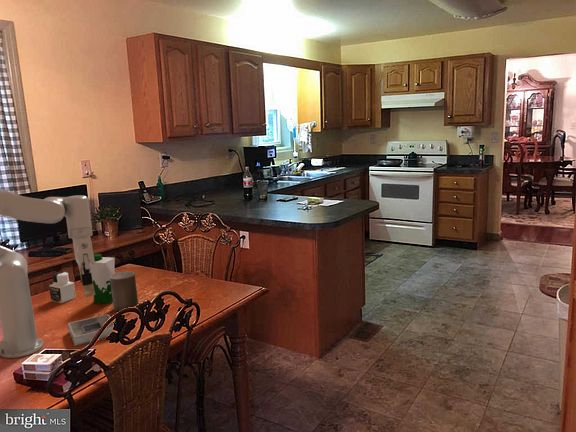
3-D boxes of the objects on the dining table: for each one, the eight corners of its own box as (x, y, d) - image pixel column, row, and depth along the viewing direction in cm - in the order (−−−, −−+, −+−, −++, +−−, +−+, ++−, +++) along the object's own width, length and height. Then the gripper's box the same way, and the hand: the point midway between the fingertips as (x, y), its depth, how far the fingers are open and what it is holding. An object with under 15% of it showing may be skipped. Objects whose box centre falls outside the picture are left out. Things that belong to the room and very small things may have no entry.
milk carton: (102, 296, 201) (97, 252, 198) (121, 297, 200) (116, 252, 196) (90, 303, 193) (84, 257, 189) (110, 304, 191) (104, 258, 187)
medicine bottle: (50, 301, 198) (47, 274, 195) (65, 295, 204) (61, 269, 202) (61, 303, 194) (58, 276, 192) (76, 297, 201) (72, 271, 198)
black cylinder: (86, 297, 159) (79, 264, 157) (84, 294, 162) (77, 262, 159) (95, 294, 161) (88, 262, 158) (93, 292, 164) (86, 260, 161)
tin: (75, 346, 154) (73, 337, 154) (68, 332, 166) (67, 323, 165) (118, 335, 162) (117, 326, 161) (109, 322, 173) (108, 313, 173)
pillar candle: (142, 306, 188) (139, 271, 185) (119, 313, 181) (115, 277, 179) (131, 301, 195) (128, 266, 192) (109, 307, 188) (105, 272, 185)
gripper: (96, 234, 152) (102, 287, 156) (87, 226, 166) (93, 275, 169) (72, 238, 148) (79, 292, 152) (64, 229, 162) (71, 279, 165)
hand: (86, 282), depth 160 cm, fingers closed on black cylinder, 3 cm apart
